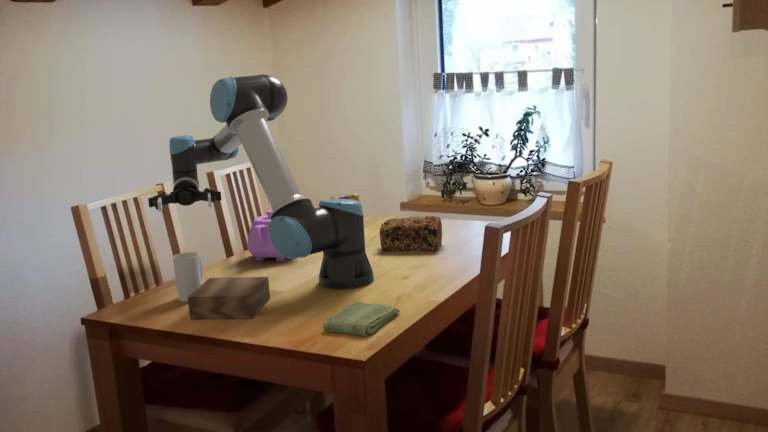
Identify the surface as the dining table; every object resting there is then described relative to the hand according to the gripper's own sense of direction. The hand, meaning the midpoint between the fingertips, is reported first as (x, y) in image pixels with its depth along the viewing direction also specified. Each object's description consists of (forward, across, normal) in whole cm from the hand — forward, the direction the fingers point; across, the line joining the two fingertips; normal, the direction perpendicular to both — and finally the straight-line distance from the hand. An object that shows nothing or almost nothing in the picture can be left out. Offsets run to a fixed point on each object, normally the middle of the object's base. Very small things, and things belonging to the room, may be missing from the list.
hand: (184, 204), depth 222 cm
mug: (+10, 0, -24) cm, 26 cm away
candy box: (-34, -50, -24) cm, 66 cm away
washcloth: (+48, -39, -24) cm, 66 cm away
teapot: (-20, -26, -24) cm, 41 cm away
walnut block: (+25, -10, -24) cm, 36 cm away
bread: (-14, -68, -24) cm, 73 cm away
